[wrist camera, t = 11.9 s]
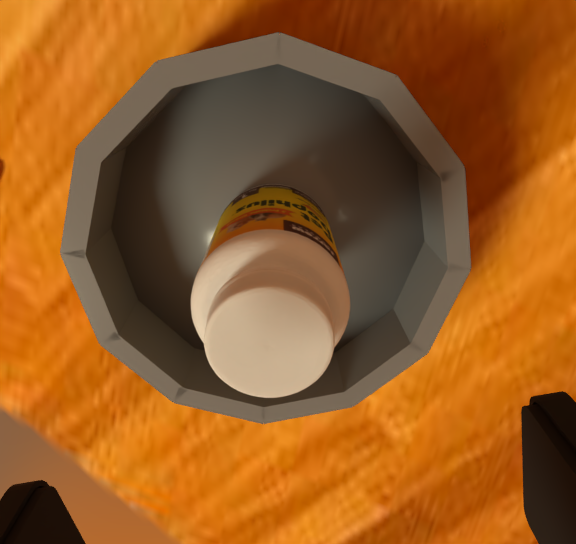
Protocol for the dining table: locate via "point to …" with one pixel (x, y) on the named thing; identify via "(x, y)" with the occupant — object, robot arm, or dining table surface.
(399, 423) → the dining table surface
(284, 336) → the supplement bottle
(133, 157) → the bowl
